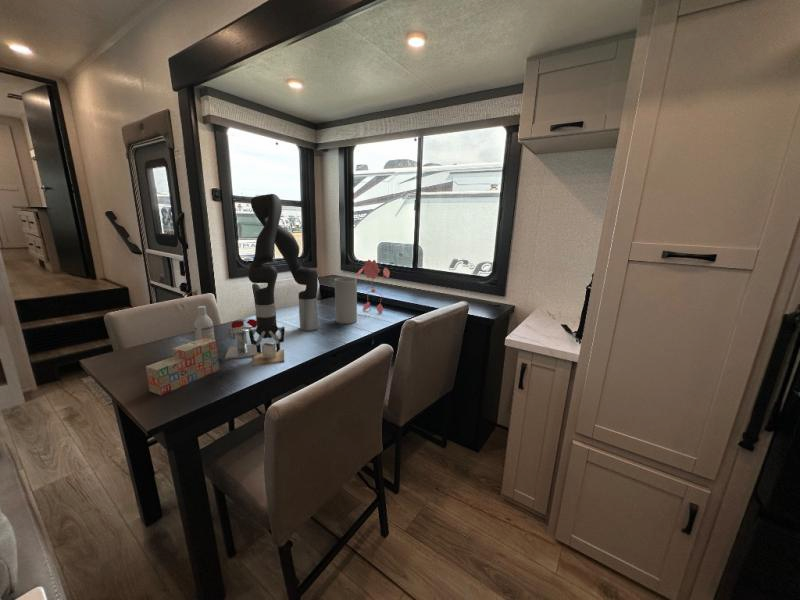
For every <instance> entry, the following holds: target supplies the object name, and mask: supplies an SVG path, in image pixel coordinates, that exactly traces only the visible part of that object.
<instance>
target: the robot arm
mask: <svg viewBox="0 0 800 600" xmlns="http://www.w3.org/2000/svg"><path fill="white" fill-rule="evenodd" d="M250 206H251V209H252V212H253V213H254V215H255V216H256V218H257V219H258V221H259V222H260V223H261V225H262V226H263V228H262V229H261V231H260V232H259V234H258V236H257V237H256V240H255V249H254V250H255V251H254V256H253V259H252V262H251V263H250V266H249V268H248V272H247V276H248V279H249V281H250V282H251V283H252V284H267V286H265V287H263V288H258V289H256V290H255V292H254V298H255V299H254V300H255V319H256V322H257V326H256V327H255V329H250V330H249V331H248V335H249V341H250V345H256V346H257V353H258V352H259V354H261V352H262V345H261V342H262V340H263V339H267V338H268V339H273V340H274V342H275V349H276V350H277V352H278V350H281V343H283V342H284V341H285V333H286V331H285V330H286V329H285V328H286V327H285V326H282V327H279V326H278V325H277V312H276V310H277V309H276V305H275V304H276V303H275V286H276V282H277V278H278V270H277V268H276V267H275V265H274V266H273V265H265V264H267V263H272V262H273V260H274V258H275V257H274V256H275V247H276V248H277V249H278V252H279V253H280V254H281V256H282V258H283V260H284V261H285V263H286V264H287V266H288V268H289V270H290V274H291V275H292V278H293V279H294V281H295V282H296V284H297V285H301V286H305V290H302V291H299V292H298V314H299V330H300V331H304V332H309V331H310V332H312V331H315V330H318V329H319V317H318V315H319V313H318V302H317V294H318V284H319V281H318V280H319V276H318V272H317V270H316V269H315V268H313V267H304V266H303V265H302V264H301V262H300V260H299V254H300V247H299V244H298V241H297V240H296V238H295V237H294V235H293V234H292V232H291V231H289V230H287V229H285V228H284V227H283V226H281V225H280V221H281V216H282V212H283V206H282V201H281V199H280V197H279V196H278V195H277V194H276V193H275V194H274V193H267V194H262V195H256V196H253V197H252V198H251V200H250ZM277 332H279V333H280V338H279V337H278V335H277V334H276V333H277ZM256 333H257V334H258V338H257V340H255V335H256Z"/></svg>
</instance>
